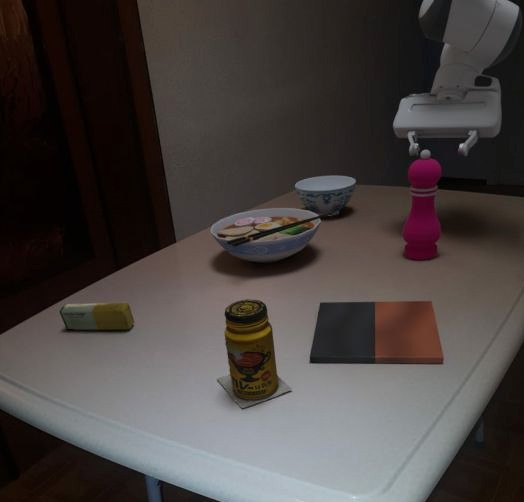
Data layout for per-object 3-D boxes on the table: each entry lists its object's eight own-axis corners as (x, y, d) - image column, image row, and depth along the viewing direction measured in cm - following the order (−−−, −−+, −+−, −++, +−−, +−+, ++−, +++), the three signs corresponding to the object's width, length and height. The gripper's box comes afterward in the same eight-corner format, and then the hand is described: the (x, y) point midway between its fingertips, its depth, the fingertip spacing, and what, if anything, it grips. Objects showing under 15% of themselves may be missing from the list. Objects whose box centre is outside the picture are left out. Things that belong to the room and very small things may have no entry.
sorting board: (431, 306, 90) (431, 300, 90) (443, 363, 75) (443, 357, 74) (320, 307, 94) (320, 302, 93) (310, 362, 78) (309, 356, 78)
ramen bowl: (284, 232, 132) (281, 197, 128) (349, 254, 115) (348, 215, 111) (191, 260, 120) (185, 223, 116) (248, 289, 103) (243, 247, 99)
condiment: (242, 409, 70) (230, 324, 64) (216, 379, 77) (204, 300, 71) (292, 391, 73) (286, 308, 67) (263, 363, 79) (255, 286, 73)
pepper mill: (430, 263, 106) (437, 154, 96) (395, 258, 110) (398, 153, 101) (445, 251, 111) (452, 146, 101) (411, 246, 115) (415, 145, 105)
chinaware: (365, 215, 137) (365, 184, 133) (308, 225, 134) (306, 193, 130) (342, 202, 150) (341, 172, 146) (289, 211, 147) (287, 181, 143)
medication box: (65, 331, 95) (57, 311, 93) (72, 322, 97) (65, 302, 95) (129, 330, 93) (123, 309, 90) (135, 321, 95) (129, 301, 92)
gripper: (399, 84, 112) (381, 144, 110) (507, 78, 102) (490, 144, 100) (405, 105, 118) (389, 162, 115) (509, 101, 108) (493, 164, 105)
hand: (437, 154), depth 108 cm, fingers open, 8 cm apart
